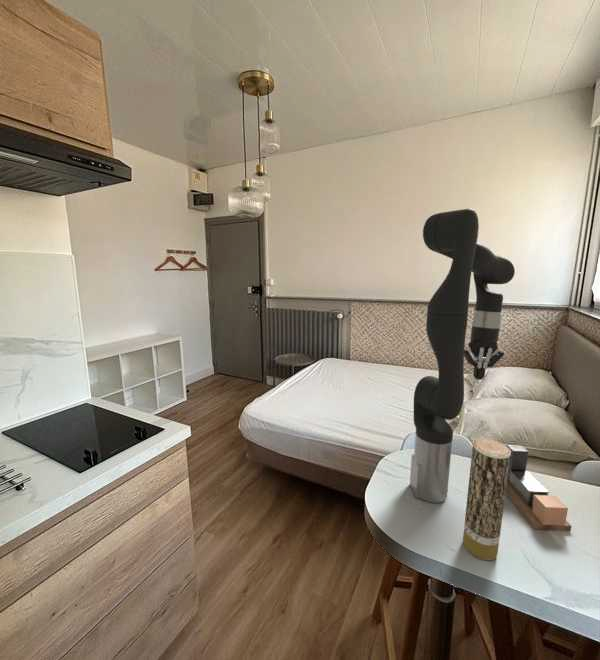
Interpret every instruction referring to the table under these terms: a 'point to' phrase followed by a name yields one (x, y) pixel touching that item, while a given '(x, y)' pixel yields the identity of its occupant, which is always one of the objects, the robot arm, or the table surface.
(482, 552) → the bark covered log
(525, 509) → the guide board
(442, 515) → the table surface
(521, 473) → the outer sleeve
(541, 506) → the socket
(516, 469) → the brushed grey metal block
